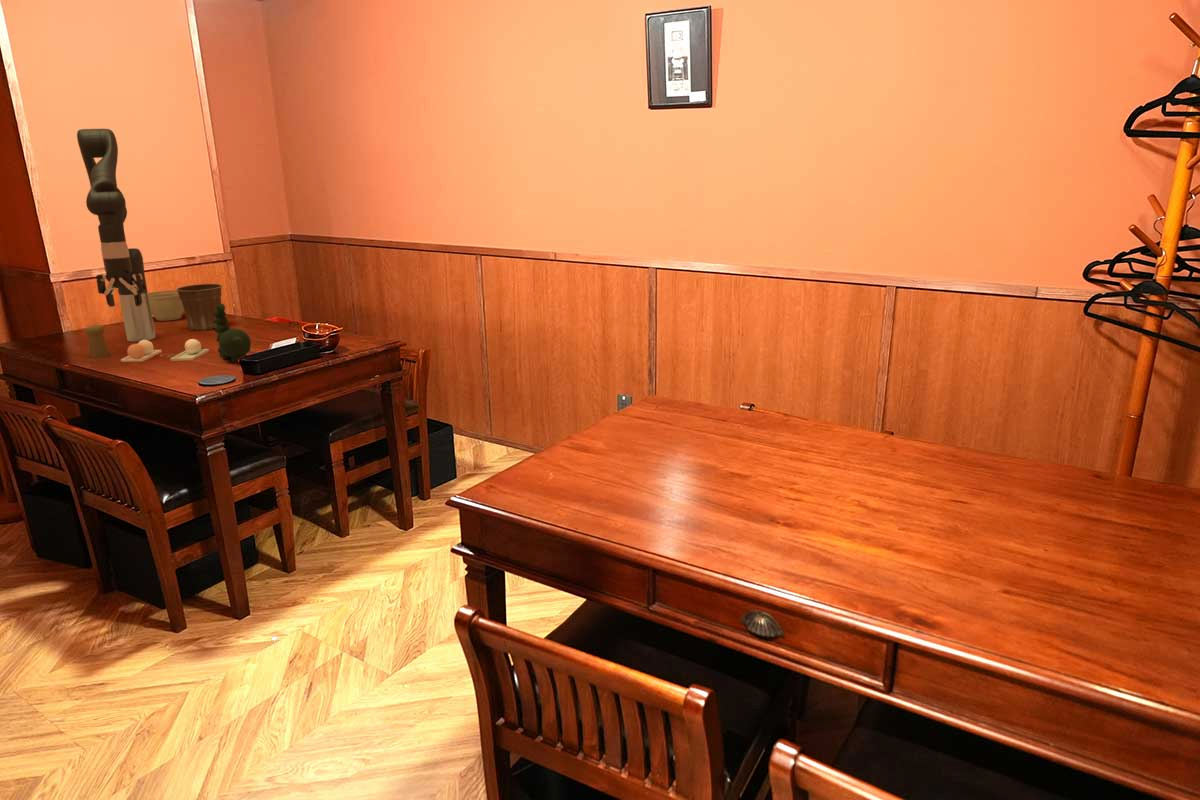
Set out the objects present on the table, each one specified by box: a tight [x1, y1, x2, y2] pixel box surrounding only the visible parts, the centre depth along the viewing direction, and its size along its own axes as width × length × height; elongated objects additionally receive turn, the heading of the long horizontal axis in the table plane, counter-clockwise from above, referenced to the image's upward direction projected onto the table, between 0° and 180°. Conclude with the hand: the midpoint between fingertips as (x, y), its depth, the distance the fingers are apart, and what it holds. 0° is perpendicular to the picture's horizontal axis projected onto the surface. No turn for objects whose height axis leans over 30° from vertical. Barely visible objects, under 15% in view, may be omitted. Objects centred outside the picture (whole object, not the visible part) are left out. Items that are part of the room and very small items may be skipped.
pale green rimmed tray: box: [169, 348, 210, 362], centre depth 272 cm, size 13×7×1 cm, turn 2°
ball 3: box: [184, 338, 202, 354], centre depth 275 cm, size 5×5×5 cm
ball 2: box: [137, 340, 154, 355], centre depth 274 cm, size 5×5×5 cm
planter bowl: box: [148, 289, 185, 322], centre depth 336 cm, size 16×16×11 cm
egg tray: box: [120, 349, 162, 363], centre depth 272 cm, size 13×7×1 cm, turn 2°
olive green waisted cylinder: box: [85, 324, 111, 359], centre depth 272 cm, size 6×6×11 cm
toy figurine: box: [213, 303, 252, 364], centre depth 267 cm, size 9×19×25 cm
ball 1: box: [126, 343, 145, 359], centre depth 268 cm, size 5×5×5 cm
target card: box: [159, 353, 175, 358], centre depth 272 cm, size 8×6×1 cm
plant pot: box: [175, 283, 223, 331], centre depth 317 cm, size 16×16×16 cm
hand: (125, 306), depth 263 cm, fingers open, 8 cm apart
